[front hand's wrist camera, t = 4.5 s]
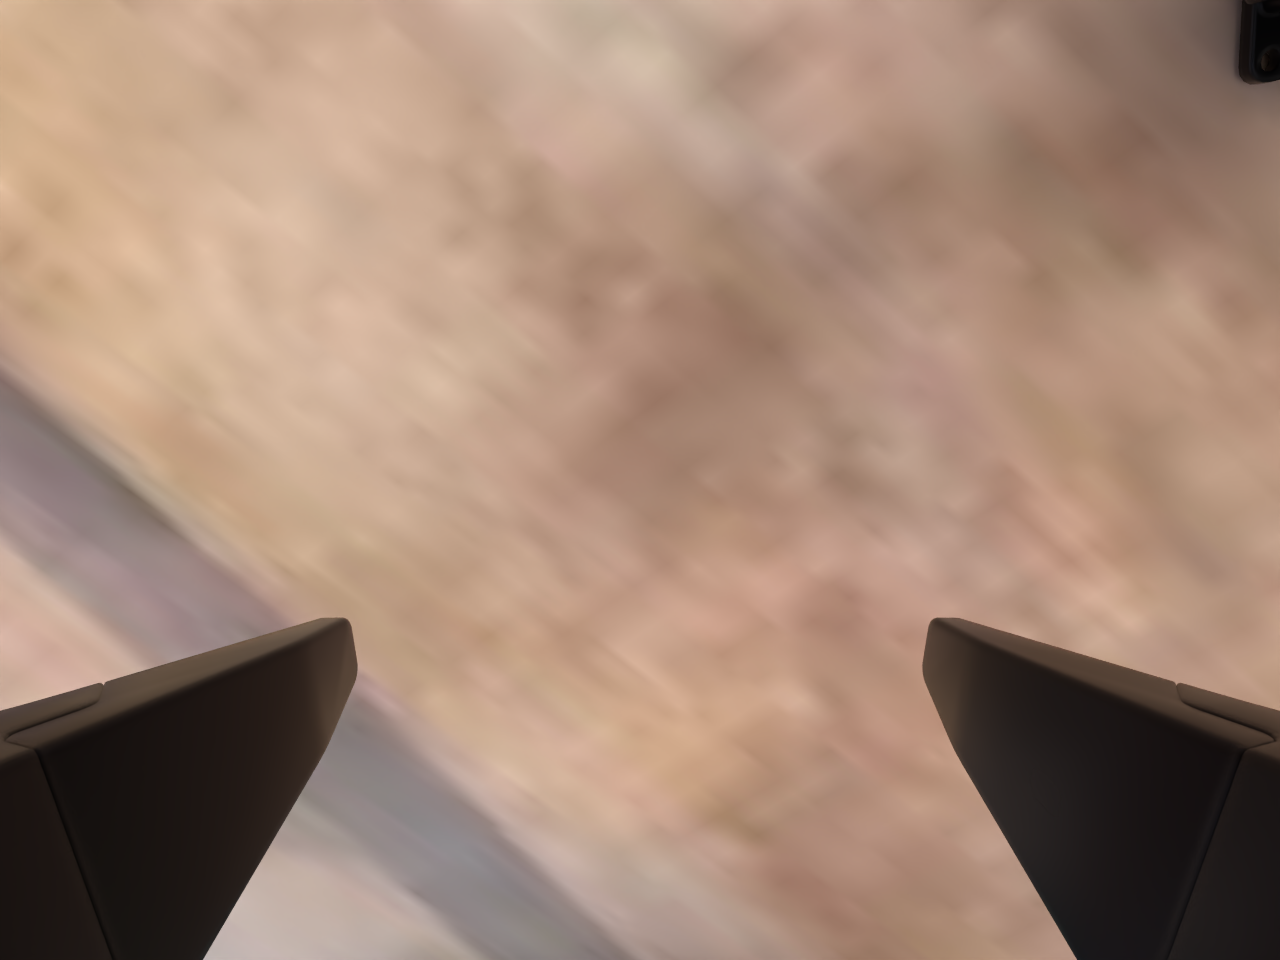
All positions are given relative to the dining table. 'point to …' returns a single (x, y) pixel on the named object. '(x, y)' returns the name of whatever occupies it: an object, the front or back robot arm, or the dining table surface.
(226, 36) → the dining table surface
